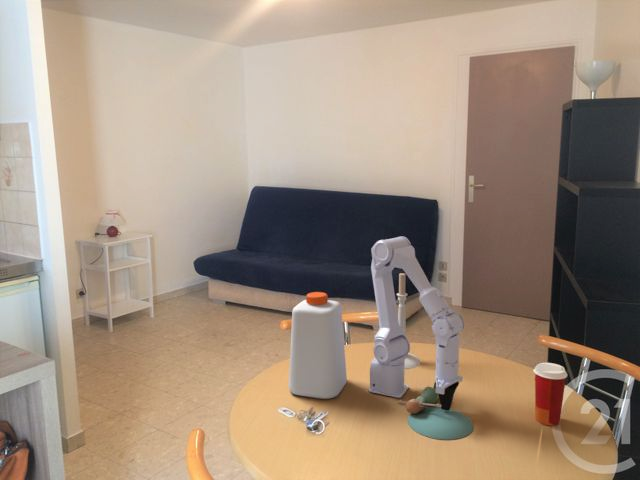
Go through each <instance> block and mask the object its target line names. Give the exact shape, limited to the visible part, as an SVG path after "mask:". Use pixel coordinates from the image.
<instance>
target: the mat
mask: <svg viewBox="0 0 640 480" xmlns="http://www.w3.org/2000/svg"><path fill="white" fill-rule="evenodd" d="M407 423H408V425H409V427H410V428H411V429H412V430H413V431H414V432H416V434H419V435H422V436H424V437H425V438H430V439H435V440H439V441H440V440H441V441H443V440H444V441H452V440H460V439H463V438H465V437H467V436H469V435H470V434H471V433H472V432H473V429H474V424H473V421H472V420H471V418H469V416H467V415H466V414H464V413H462V412H460V411H458V410H455V409H451V408H450V410H449V411H448V410H443V409H441V407H436V406H426V407H425V408H424V409H423V410H421V411H420V412H418V413H416V414H412V413H410V414H409V416H408V418H407Z"/></svg>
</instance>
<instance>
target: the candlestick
mask: <svg viewBox="0 0 640 480" xmlns="http://www.w3.org/2000/svg"><path fill="white" fill-rule="evenodd" d="M406 276H407V274H406V273H405V272H404V273H403V272H401V273H399V274H398V292H397V293H395V294H396V295H395V296H397V300H398V303H399V304H398V310H397V314H398V321H399V326H400V327H401V328H402V329H404V330H405V332H406V333H407V325H406V324H407V323H406V304H405V302H406V301H407V296H408V293H406ZM421 362H422V360H421V359H420V358H419V357H418V356H417V355H415V354H413V353H410V352H409V353H408V354H407V355H406V359H405V370H407V369H415V368H417V367H419V366H420V365H421V364H420V363H421Z"/></svg>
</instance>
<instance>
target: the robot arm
mask: <svg viewBox="0 0 640 480" xmlns="http://www.w3.org/2000/svg"><path fill="white" fill-rule="evenodd" d="M411 244H412V243H411V242H410V240H409V239H408V238H407V237H406V236H397V237H393V238H389V239H388V238H386V239H380V240H377V241H376V242H375V243H374V244H373V246H372V247H371V249H370V250H371V251H370V252H371V257H372V259H371V264H370V265H371V266H370V271H371V276H372V285H373V290H374V296H375V297H374V298H375V305H376V311H377V312H376V313H377V317H378V318H377V319H378V326H379V329H378V331H377V332H376V334H375V335H374V338H373V339H374V340H373V341H374V345H373V354H374V355H373V356H374V357H373V358H372V360H371V363H370V368H369V389H368V392H369V393H374V394H377V395H382V396H389V397H393V398H398V399H401V398H402V397H403V395H404V394H405V393H406V392H407V391H408V389H409V387H410V386H409V385H408V384H405V370H406V369H405V359H406V355H407V354H408V353H410V351H411V344H410V341H409V339H408V337H407V331H406V332H405V330H404V329H402V328H401V327H400V326H399V321H398V308H397V301H396V295H395V294H396V293H395V288H394V280H393V274H392V271H393V270H394V269H395V268H397V269H402V270H403V271H404V274H406V276H407V277H408V279H409V280H410V282H411V283H412V284H413V286H415V288H416V289H417V291H418V292H419V298H418V299H419V300H418V301H419V302H420V303H421V305H422V306H423V308H424V310H425V312H426V314H427V315H428V316H429V318H430V320H431V322H432V323H433V324H431V330H432V332H433V335H434V337H435V343H436V345H435V348H436V349H435V373H434V384H433V386H434V388H435V390H436V393H437V394H438V400H439V404H440V405H441V406H442V407H441V409H443V410H448V411H449V410H450V409H451V408H452V404H453V400H454V396H455V392H456V390H457V388H458V387H459V384H460V383H461V382H463V379H464V377H463V376H461V375H459V363H460V361H459V360H460V333H462V332H463V330H464V329H465V320H464V318H463V316H462V315H461V314H460V312H458V311H455V310H454V309H453V308H451V307H450V305H449V303H448V302H447V300H446V299H445V297H444V293H443V291H442V290H441V291H440V289H439V288H437V287H434V286H432V284H431V283H430V282H429V280H428V278H427V276H426V274H425V272H424V270H423V269H422V267H421V265H420V263H419V261H418V258H417V257H416V251H415V247H414V246H413V245H411Z"/></svg>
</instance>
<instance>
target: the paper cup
mask: <svg viewBox="0 0 640 480" xmlns="http://www.w3.org/2000/svg"><path fill="white" fill-rule="evenodd" d="M532 370H533V373H534V380H535V381H534V384H535V385H534V389H535V390H534V391H535V392H534V397H535V398H534V400H535V401H534V402H535V403H534V404H535V420H536V422H538V423H539V424H541V425H543V426H544V425H545V426H550V427H551V426H552V427H553V426H557V425H559V424H560V421H561V414H562V410H563V409H562V408H563V400H564V393H565V388H566V387H565V386H566V378H567V377H568V373H567V371H566V369H565V367H564V366H562V365H560V364H557V363H552V362H540V363H538V364H536V366H534V369H532Z"/></svg>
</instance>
